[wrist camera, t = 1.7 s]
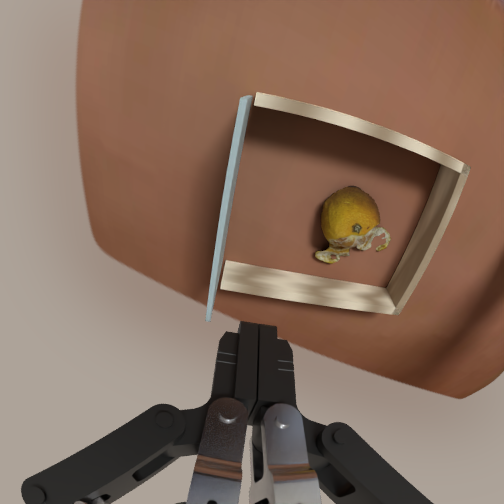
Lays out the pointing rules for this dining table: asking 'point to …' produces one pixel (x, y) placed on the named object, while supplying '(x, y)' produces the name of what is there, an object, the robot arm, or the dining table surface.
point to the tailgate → (228, 197)
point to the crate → (414, 257)
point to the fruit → (349, 223)
